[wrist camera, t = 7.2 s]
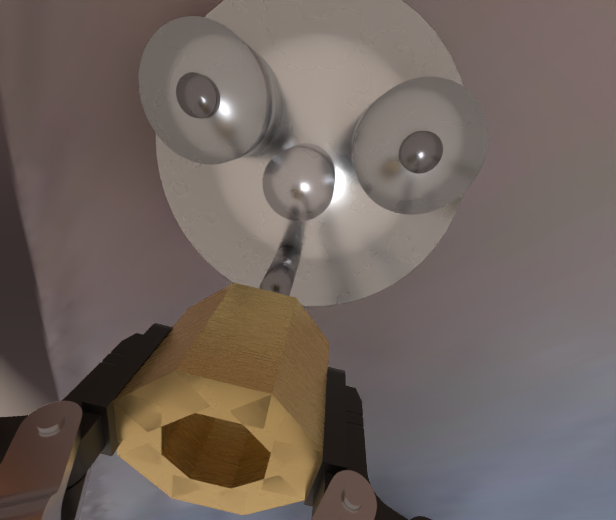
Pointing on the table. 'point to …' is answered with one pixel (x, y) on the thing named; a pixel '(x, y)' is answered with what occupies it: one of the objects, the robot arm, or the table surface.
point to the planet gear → (230, 403)
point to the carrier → (311, 141)
